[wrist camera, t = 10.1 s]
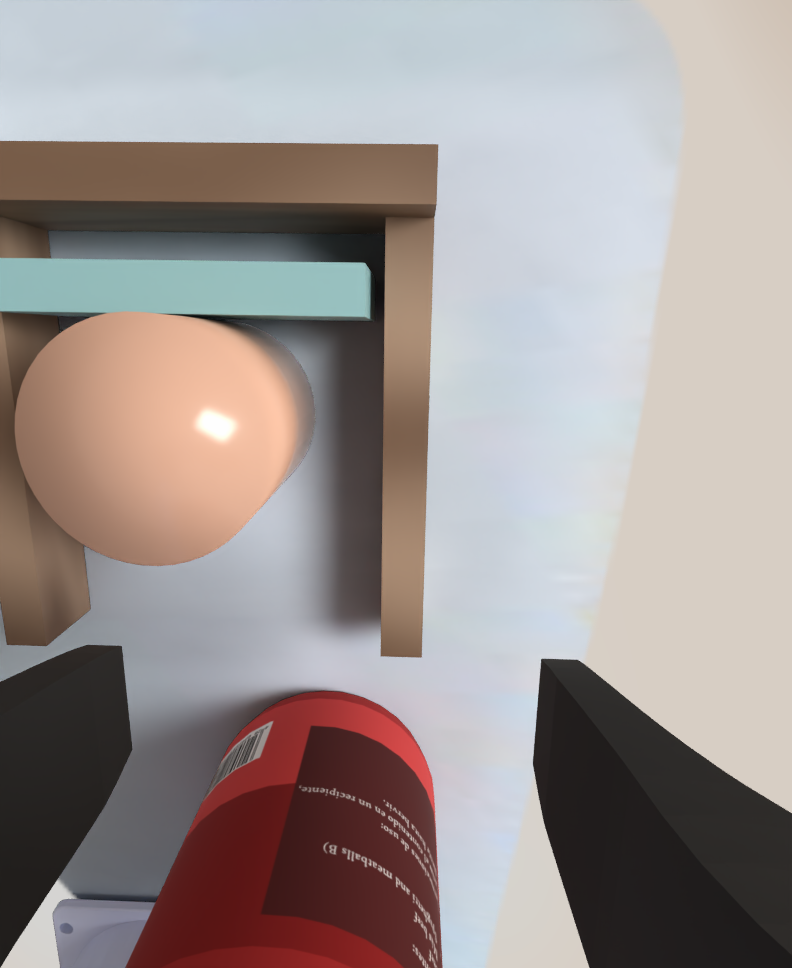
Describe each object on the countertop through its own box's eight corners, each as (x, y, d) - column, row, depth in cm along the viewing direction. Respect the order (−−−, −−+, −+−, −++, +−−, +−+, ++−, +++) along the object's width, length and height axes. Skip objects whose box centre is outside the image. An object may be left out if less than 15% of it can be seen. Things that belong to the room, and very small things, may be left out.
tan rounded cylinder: (321, 330, 18) (276, 326, 12) (309, 506, 19) (263, 578, 13) (140, 311, 18) (7, 297, 12) (139, 487, 19) (20, 551, 13)
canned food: (220, 860, 23) (45, 1326, 12) (225, 671, 21) (23, 1025, 10) (421, 880, 23) (428, 1368, 12) (445, 693, 21) (478, 1073, 10)
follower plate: (374, 321, 18) (364, 316, 14) (66, 316, 18) (-19, 310, 14) (375, 277, 17) (364, 262, 14) (62, 273, 18) (-26, 257, 14)
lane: (420, 618, 20) (421, 686, 16) (55, 608, 20) (-30, 672, 16) (433, 189, 17) (438, 144, 13) (1, 185, 17) (-120, 140, 13)
